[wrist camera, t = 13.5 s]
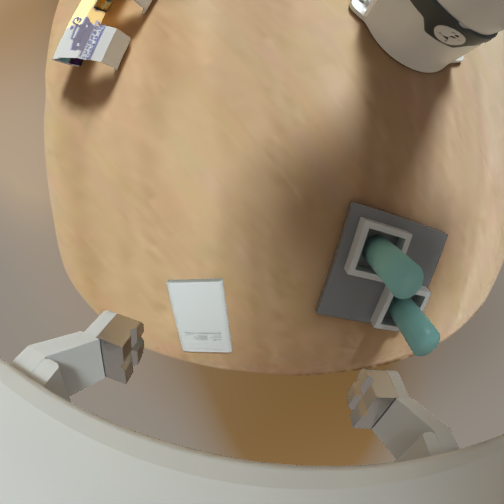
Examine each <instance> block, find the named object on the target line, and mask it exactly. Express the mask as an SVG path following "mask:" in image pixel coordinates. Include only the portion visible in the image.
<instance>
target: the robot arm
mask: <svg viewBox="0 0 504 504" xmlns="http://www.w3.org/2000/svg"><path fill="white" fill-rule="evenodd" d="M359 1H361V2H363V3H361V2H359ZM349 7H350V9H351V10H352V11H353V12H354V13H355V14H356V15H357V16H358V17H359V18H360V19H362V20H363V21H364V22H365V24H366V25H367V27H368V29H369V30H370V32H371V34H372V36H373V37H374V39H375V40H376V41H377V43H378V44H379V45H380V46H381V47H382V48H383V49H384V50H385V51H386V52H387V53H388V54H389V55H390V56H391V57H393V58H394V59H395V60H397V61H398V62H400V63H401V64H403V65H405V66H407V67H409V68H411V69H413V70H416V71H420V72H425V73H433V72H438V71H440V70H442V69H443V68H444V67H446V66H447V65H448V64H450V63H459V62H461V61H463V60H464V55H465V54H467V53H468V52H470V51H471V50H473V49H475V48H476V47H478V46H479V45H481V43H483V42H484V43H486V42H488V41H490V40H491V39H492V38H494V37H495V36H496V35H497V34H498V32H499V31H502V30H504V0H351V2H350V4H349ZM143 332H144V324H143V323H142V322H140V321H137V320H134V319H131V318H128V317H126V316H123V315H120V314H117V313H114V312H112V311H109V310H105V311H104V312H103V313H102V314H101V315H100V316H99V317H98V318H97V319H96V320H95V321H94V322H93V323H92V324H91V325H90V326H89V327H88V328H87V330H86V331H85V332H81V331H79V332H76V333H72V334H69V335H65V336H62V337H58V338H54V339H51V340H47V341H43V342H40V343H36V344H32V345H29V346H28V347H26V348H25V349H24V351H22V353H20V354H19V356H17V357H16V358H15V359H14V360H13V362H12V363H11V364H9V363H8V362H6V361H5V360H4V359H2V358H1V357H0V504H504V434H503V435H500V436H498V437H495V438H492V439H489V440H486V441H484V442H481V443H478V444H475V445H471V446H468V447H465V448H461V449H459V447H458V444H457V442H456V440H455V438H454V435H453V433H452V431H451V429H450V427H448V426H447V425H446V424H444V423H443V422H442V421H440V420H439V419H438V418H437V417H436V416H434V415H433V414H432V413H431V412H429V411H428V410H427V409H425V408H424V407H423V406H422V405H421V404H419V403H418V402H417V401H416V400H414V399H413V398H410V397H409V395H408V393H407V391H406V388H405V386H404V384H403V382H402V380H401V378H400V376H399V374H398V372H397V371H395V370H375V369H374V370H373V369H362V370H361V371H360V372H359V374H358V375H357V378H358V380H357V381H356V382H355V383H353V384H352V385H351V387H350V388H349V391H348V395H347V403H348V406H349V408H350V409H351V410H352V413H351V414H350V417H351V421H352V426H353V428H372V430H373V432H374V433H375V434H376V435H377V436H378V438H379V439H380V440H381V441H382V442H383V444H384V445H385V446H386V447H387V448H388V450H389V451H390V452H391V453H392V455H393V456H394V457H395V458H396V461H394V462H390V463H381V464H369V465H354V466H303V465H287V464H275V463H265V462H258V461H250V460H244V459H238V458H232V457H227V456H221V455H216V454H211V453H207V452H202V451H198V450H195V449H190V448H187V447H183V446H180V445H176V444H173V443H169V442H166V441H163V440H160V439H156V438H153V437H150V436H148V435H144V434H141V433H139V432H136V431H133V430H131V429H128V428H126V427H123V426H121V425H118V424H116V423H114V422H111V421H109V420H107V419H104V418H102V417H100V416H97V415H95V414H93V413H91V412H89V411H87V410H85V409H83V408H81V407H79V406H77V405H75V404H73V403H71V401H70V398H69V396H71V395H73V394H75V393H77V392H79V391H81V390H83V389H85V388H87V387H89V386H91V385H92V384H94V383H96V382H98V381H100V380H102V379H104V378H105V376H106V377H108V378H111V379H114V380H116V381H119V382H122V383H124V384H126V383H127V382H128V380H129V378H130V377H131V375H132V373H133V366H135V365H137V364H138V363H139V361H140V359H141V357H142V353H143V349H144V340H143V339H142V337H141V335H142V334H143Z"/></svg>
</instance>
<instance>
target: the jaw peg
mask: <svg viewBox="0 0 504 504" xmlns="http://www.w3.org/2000/svg"><path fill="white" fill-rule="evenodd" d="M362 254H363V257H364V259H365V260H366V261H367V262H368V264H369V265H370V266H371V267H372V268H373V270H374V271H375V272H376V273H377V275H378V276H379V277H380V278H381V280H382V281H383V282H384V284H385V285H386V286H387V287H388V289H389V290H390V291H391V293H392V294H393V295H394V296H395V297H396V298H399V299H407V298H410V297H412V296H413V295H415V294H416V293H417V292H418V291H419V289H420V288H421V286H422V283H423V279H424V274H423V271H422V269H421V267H420V266H419V265H418V264H416V263H415V262H414V261H413V260H412V259H411V258H409V257H408V256H407V255H406V254H405V253H404V252H402V251H401V250H400V249H399V248H398V247H396V246H395V245H394V244H393V243H391V242H390V241H389V240H388V239H386V238H385V237H384V236H382V235H373V236H371V237H369V238H368V239H367V240H366V241H365V243H364V246H363V249H362Z"/></svg>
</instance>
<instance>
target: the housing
mask: <svg viewBox="0 0 504 504" xmlns="http://www.w3.org/2000/svg"><path fill="white" fill-rule="evenodd" d="M373 235H382V236H384V237H385V238H386V239H388V240H389V241H390V242H391V243H393V244H394V245H395V246H396V247H398V248H399V249H400V250H401V251H402V252H404V253H405V254H406V255H407V256H408V257H409V258H411V259H412V260H413V261H414V262H415V263H416V264H418V265H419V266H420V267H421V269H422V271H423V274H424V279H423V283H422V286H421V288H420V289H419V291H418V292H417V293H416V294H415V295H413V296H412V297H410V298H407V299H399V298H396V297H395V296H394V295H393V294H392V293H391V291H390V290H389V289H388V287H387V286H386V285H385V284H384V282H383V281H382V280H381V278H380V277H379V276H378V275H377V273H376V272H375V271H374V270H373V268H372V267H371V266H370V265H369V264H368V262H367V261H366V260H365V259H364V257H363V254H362V249H363V246H364V243H365V241H366V240H367V239H368V238H369V237H371V236H373ZM447 236H448V234H446V233H444V232H442V231H439V230H437V229H434V228H431V227H428V226H426V225H423V224H420V223H417V222H415V221H412V220H409V219H406V218H403V217H400V216H397V215H394V214H391V213H388V212H385V211H382V210H379V209H376V208H372V207H369V206H366V205H363V204H359V203H356V202H353V201H351V202H350V205H349V209H348V212H347V216H346V219H345V223H344V226H343V229H342V233H341V236H340V239H339V242H338V246H337V249H336V252H335V255H334V258H333V261H332V264H331V267H330V270H329V273H328V276H327V279H326V282H325V285H324V287H323V290H322V293H321V296H320V299H319V301H318V304H317V307H316V313H317V314H321V315H326V316H332V317H337V318H343V319H348V320H354V321H360V322H366V323H371V324H372V325H373V327H374V328H377V329H384V330H390V331H397V332H401V333H402V335H403V336H404V338H405V340H406V341H407V343H408V345H409V346H410V348H411V350H412V351H413V353H414V354H415V355H416V356H424V355H427V354H429V353H430V352H432V350H434V349H435V348H436V346H437V345H438V343H439V340H440V334H439V332H438V331H437V329H436V328H435V327H434V326H433V324H432V323H431V322H430V320H429V319H428V318H427V317H426V315H425V314H424V313H423V310H424V308H425V306H426V304H427V302H428V299H429V297H430V295H431V292H430V291H429V290H428V289H427V288H428V285H429V283H430V281H431V278H432V276H433V274H434V271H435V269H436V266H437V264H438V261H439V258H440V256H441V253H442V250H443V247H444V245H445V242H446V239H447Z"/></svg>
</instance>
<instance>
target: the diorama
mask: <svg viewBox="0 0 504 504" xmlns="http://www.w3.org/2000/svg"><path fill="white" fill-rule="evenodd" d="M134 1H135V2H137V3H138V4H139V5H140V6H141V7H143V10H142V12H143V13H144V14H145V12H146V11H147V9H148V7H149V5H150V4H151V2H152V0H134ZM112 2H113V0H82V1H81V3H80V4H79V6H78V8H77V10H76V11H75V13H74V15H73V17H72V19H71V21H70V22H69V24H68V26H67V28H66V30H65V32H64V35H63V37H62V39H61V41H60V43H59V45H58V48H57V50H56V52H55V55H54V57H53V59H52V60H54V61H58V62H61V63H64V64H68V65H72V66H77V67H79V66H81V63H82V61H83V59H84V60H93V61H98V62H101V63H104V64H106V65H108V66H111V67H113V68H114V69H115V70H116V71H117V69H118V67H119V65H120V62H121V60H122V58H123V56H124V53H125V51H126V49H127V47H128V45H129V43H130V39H131V38H130V37H129V36H127V35H126V34H124V33H123V32H122V31H120V30H119V29H117V28H113V27H109V26H106V25H104V26H103V25H100V24H102V23H101V21H102V19H103V17H104V15H105V13H106V12H107V10H108V8H109V7H110V5H111V3H112Z"/></svg>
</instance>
